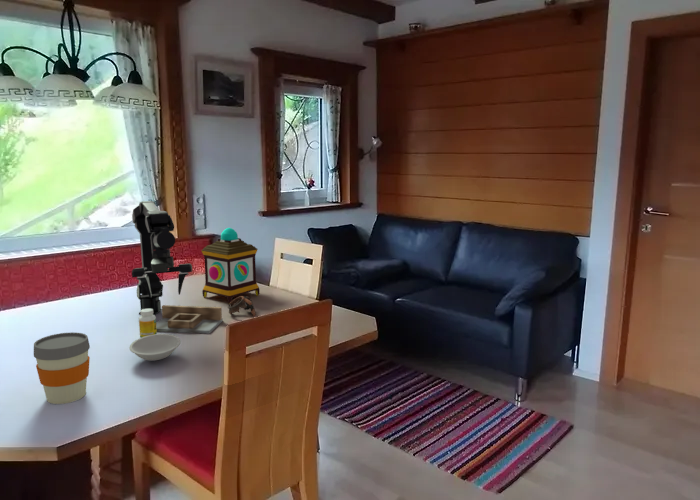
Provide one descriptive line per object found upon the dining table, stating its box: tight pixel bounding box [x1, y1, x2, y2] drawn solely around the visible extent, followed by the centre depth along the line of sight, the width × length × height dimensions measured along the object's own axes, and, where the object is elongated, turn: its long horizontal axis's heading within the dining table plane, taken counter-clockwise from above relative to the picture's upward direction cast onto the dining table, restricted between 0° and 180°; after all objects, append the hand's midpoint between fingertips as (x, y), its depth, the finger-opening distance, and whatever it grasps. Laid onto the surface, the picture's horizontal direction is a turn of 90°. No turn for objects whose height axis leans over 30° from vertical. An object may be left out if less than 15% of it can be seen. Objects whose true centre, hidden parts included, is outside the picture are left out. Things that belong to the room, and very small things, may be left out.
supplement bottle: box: [138, 309, 158, 338], centre depth 180 cm, size 5×5×10 cm
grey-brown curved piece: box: [227, 295, 257, 317], centre depth 207 cm, size 12×10×8 cm
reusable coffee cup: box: [33, 331, 91, 405], centre depth 137 cm, size 13×13×15 cm
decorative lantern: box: [201, 227, 260, 305], centre depth 229 cm, size 20×20×30 cm
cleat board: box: [156, 304, 224, 335], centre depth 193 cm, size 22×14×6 cm, turn 85°
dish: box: [129, 333, 181, 362], centre depth 162 cm, size 18×14×5 cm
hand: (165, 296), depth 180 cm, fingers open, 9 cm apart
